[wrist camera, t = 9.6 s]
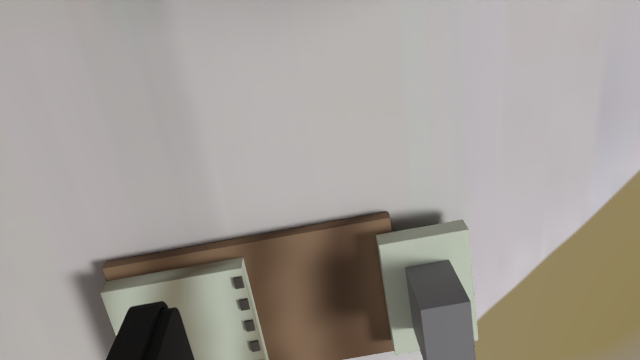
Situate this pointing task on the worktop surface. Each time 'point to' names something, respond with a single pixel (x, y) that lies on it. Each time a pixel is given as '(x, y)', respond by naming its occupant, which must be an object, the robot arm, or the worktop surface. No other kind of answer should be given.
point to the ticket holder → (268, 292)
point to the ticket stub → (430, 290)
